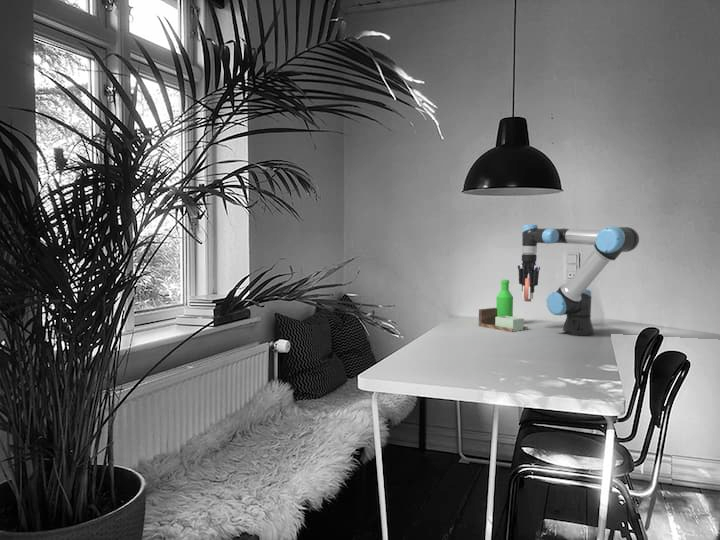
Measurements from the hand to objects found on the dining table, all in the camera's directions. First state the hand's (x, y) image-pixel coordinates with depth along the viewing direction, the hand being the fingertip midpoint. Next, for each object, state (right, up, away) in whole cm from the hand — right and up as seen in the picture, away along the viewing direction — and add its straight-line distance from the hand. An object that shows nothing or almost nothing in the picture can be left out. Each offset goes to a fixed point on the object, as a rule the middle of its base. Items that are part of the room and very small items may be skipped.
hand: (527, 298), depth 336 cm
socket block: (-11, -16, -5) cm, 20 cm away
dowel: (0, -2, 0) cm, 2 cm away
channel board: (-14, -17, -1) cm, 22 cm away
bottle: (-8, -16, +18) cm, 25 cm away
